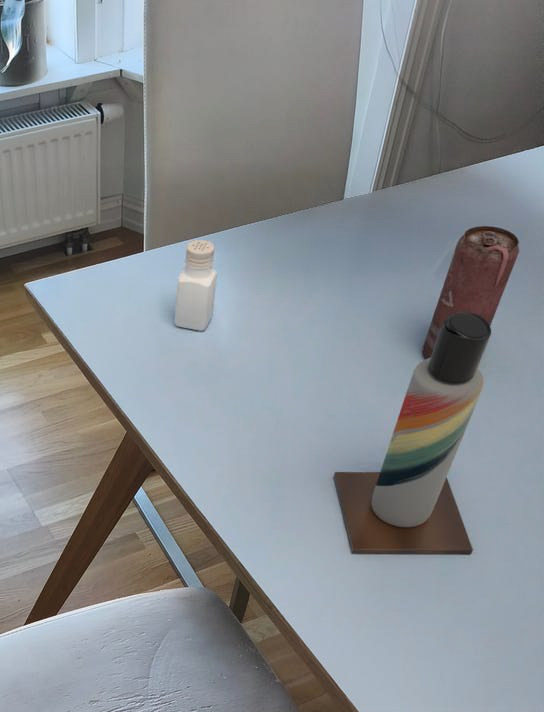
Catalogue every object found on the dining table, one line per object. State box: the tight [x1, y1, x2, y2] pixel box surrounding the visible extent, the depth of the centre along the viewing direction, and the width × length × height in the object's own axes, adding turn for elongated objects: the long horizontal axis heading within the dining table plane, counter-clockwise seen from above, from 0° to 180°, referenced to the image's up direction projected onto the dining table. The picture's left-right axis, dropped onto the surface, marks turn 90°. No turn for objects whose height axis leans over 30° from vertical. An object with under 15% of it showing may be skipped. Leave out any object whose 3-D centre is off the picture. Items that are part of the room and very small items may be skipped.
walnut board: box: [333, 471, 474, 555], centre depth 85 cm, size 11×11×1 cm
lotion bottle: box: [372, 313, 492, 527], centre depth 77 cm, size 6×6×20 cm
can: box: [422, 225, 520, 359], centre depth 96 cm, size 6×6×14 cm
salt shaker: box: [174, 239, 218, 332], centre depth 104 cm, size 4×4×10 cm
